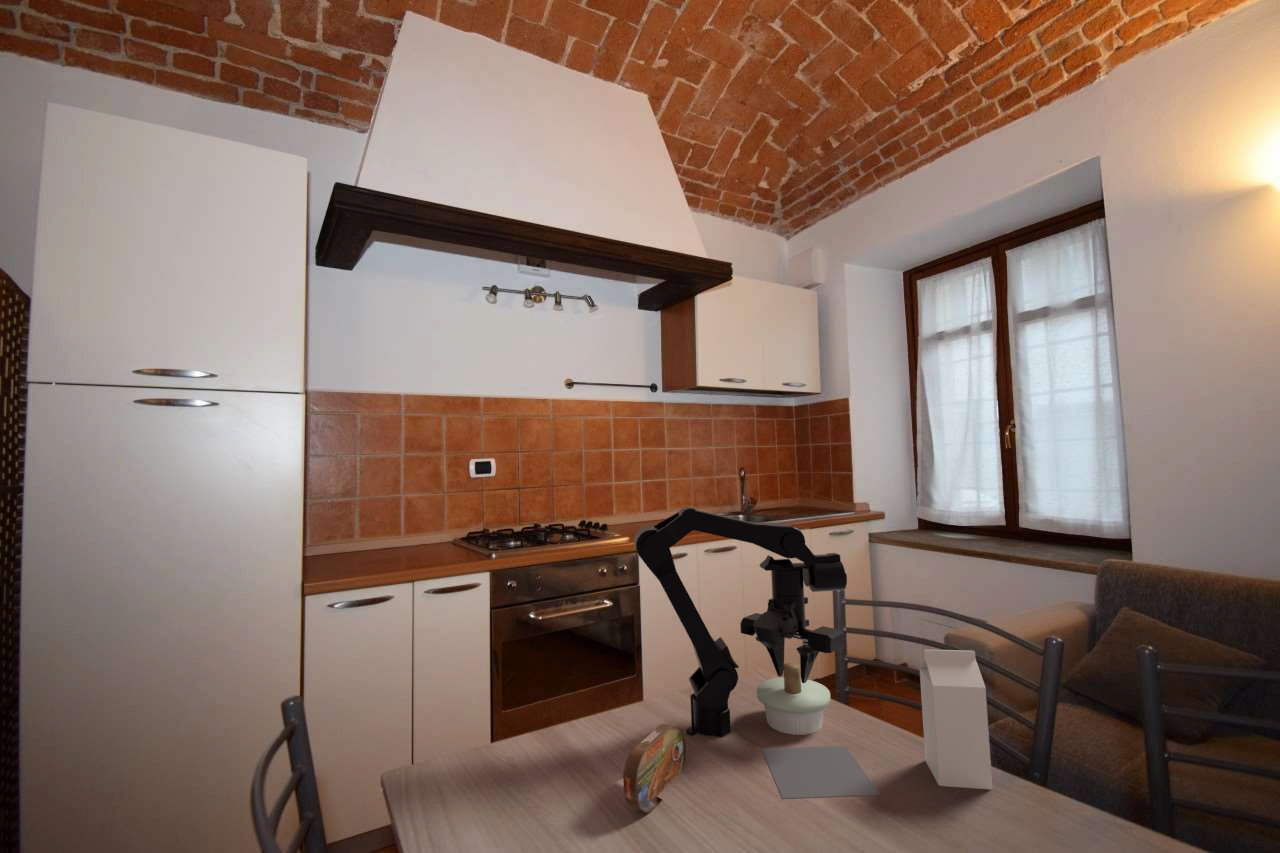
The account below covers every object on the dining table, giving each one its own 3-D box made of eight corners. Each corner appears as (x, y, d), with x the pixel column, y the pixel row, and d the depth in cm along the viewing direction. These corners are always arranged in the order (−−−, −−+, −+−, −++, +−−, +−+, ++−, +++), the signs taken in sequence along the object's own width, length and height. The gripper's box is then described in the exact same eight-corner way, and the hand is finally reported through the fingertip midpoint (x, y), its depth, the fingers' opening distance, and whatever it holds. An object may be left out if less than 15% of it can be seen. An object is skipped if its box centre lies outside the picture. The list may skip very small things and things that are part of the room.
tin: (639, 825, 78) (637, 761, 79) (620, 818, 80) (618, 756, 80) (688, 771, 91) (686, 717, 92) (671, 767, 93) (669, 713, 93)
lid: (743, 698, 105) (741, 667, 106) (781, 678, 114) (780, 649, 115) (806, 720, 96) (804, 685, 96) (843, 696, 105) (841, 664, 105)
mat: (782, 804, 82) (782, 798, 82) (761, 753, 96) (761, 748, 96) (880, 800, 82) (880, 794, 82) (845, 750, 96) (845, 745, 96)
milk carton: (993, 795, 82) (983, 659, 83) (939, 791, 83) (930, 657, 85) (974, 768, 89) (966, 643, 90) (925, 765, 90) (917, 642, 92)
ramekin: (803, 748, 97) (802, 716, 97) (750, 727, 105) (749, 697, 106) (838, 726, 104) (837, 697, 105) (786, 708, 113) (785, 680, 113)
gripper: (720, 594, 107) (724, 679, 106) (811, 610, 94) (816, 708, 93) (755, 583, 115) (758, 663, 114) (843, 597, 102) (848, 687, 101)
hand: (792, 679), depth 105 cm, fingers open, 5 cm apart
